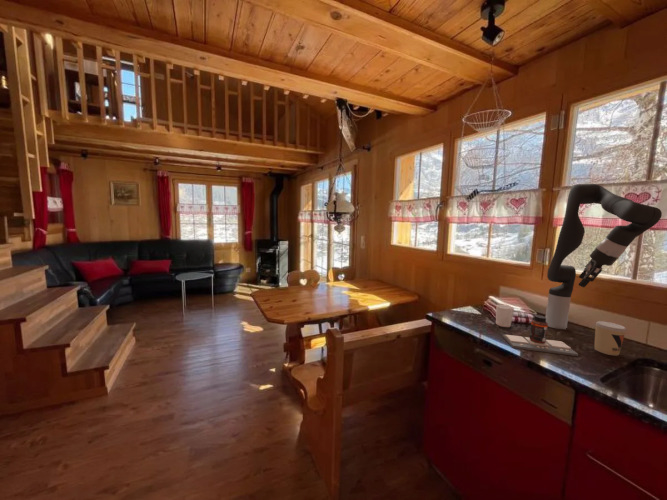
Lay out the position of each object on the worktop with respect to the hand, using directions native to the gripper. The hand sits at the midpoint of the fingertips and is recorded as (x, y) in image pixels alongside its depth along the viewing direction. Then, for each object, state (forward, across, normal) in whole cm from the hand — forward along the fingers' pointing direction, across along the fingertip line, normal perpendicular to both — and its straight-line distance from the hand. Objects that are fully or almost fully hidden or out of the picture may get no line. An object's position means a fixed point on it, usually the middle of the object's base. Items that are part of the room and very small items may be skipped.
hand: (581, 282), depth 119 cm
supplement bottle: (+28, +15, -1) cm, 32 cm away
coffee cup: (+24, +1, +23) cm, 33 cm away
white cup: (+40, -1, -13) cm, 42 cm away
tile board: (+28, +17, 0) cm, 33 cm away
